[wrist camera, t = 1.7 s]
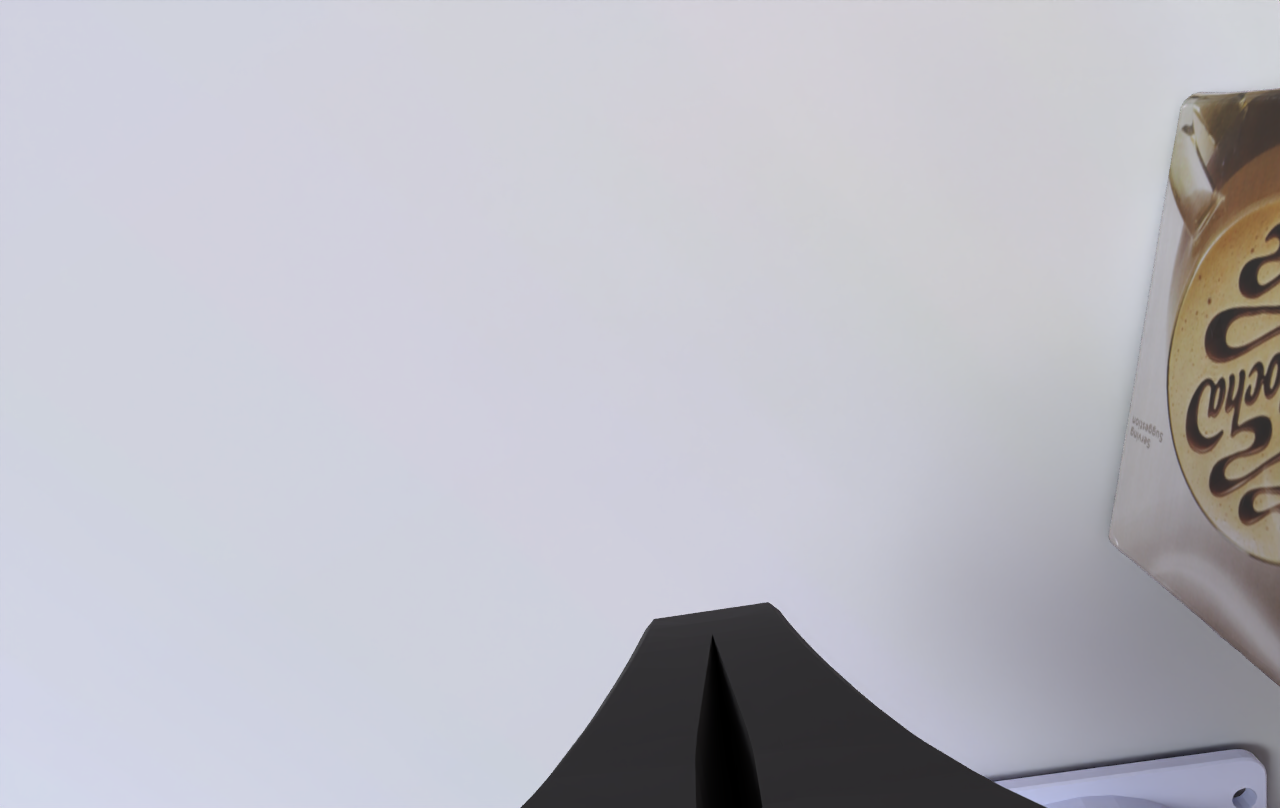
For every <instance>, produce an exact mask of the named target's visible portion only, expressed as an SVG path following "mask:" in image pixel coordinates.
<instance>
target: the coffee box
mask: <svg viewBox="0 0 1280 808" xmlns="http://www.w3.org/2000/svg"><path fill="white" fill-rule="evenodd" d="M1109 539H1110V542H1111V543H1112V544H1113V545H1114V546H1115V547H1116V548H1117V549H1118V550H1119V551H1120V552H1122V553H1123V554H1124V555H1126V556H1127V557H1128V558H1130V559H1131V560H1132V561H1134V562H1135V563H1136V564H1137V565H1138V566H1139V567H1140V568H1141V569H1143V570H1144V571H1145V572H1146V573H1147V574H1148V575H1150V576H1151V577H1152V578H1153V579H1154V580H1156V581H1157V582H1158V583H1159V584H1160V585H1161V586H1163V587H1164V588H1165V589H1166V590H1168V591H1169V592H1170V593H1171V594H1172V595H1173V596H1174V597H1176V598H1177V599H1178V600H1179V601H1181V602H1182V603H1183V604H1184V605H1185V606H1186V607H1187V608H1189V609H1190V610H1191V611H1192V612H1193V613H1195V614H1196V615H1197V616H1198V617H1200V618H1201V619H1202V620H1203V621H1204V622H1205V623H1206V624H1207V625H1208V626H1209V627H1211V628H1212V629H1213V630H1214V631H1215V632H1216V633H1217V634H1218V635H1219V636H1220V637H1221V638H1223V639H1224V640H1226V641H1227V642H1228V643H1229V644H1230V645H1231V646H1233V647H1234V648H1235V649H1237V650H1238V651H1239V652H1240V653H1242V654H1243V655H1244V656H1245V657H1246V658H1247V659H1248V660H1249V661H1250V662H1251V663H1253V664H1254V665H1255V666H1256V667H1257V668H1259V669H1260V670H1261V671H1262V672H1263V673H1264V674H1266V675H1267V676H1268V677H1269V678H1270V679H1272V680H1273V681H1274V682H1275V683H1276V684H1278V685H1279V686H1280V88H1277V89H1267V90H1254V91H1242V92H1230V93H1214V92H1198V93H1195V94H1192V95H1191V96H1190V97H1189V98H1187V99H1186V100H1185V101H1184V103H1183V104H1182V106H1181V109H1180V114H1179V120H1178V126H1177V132H1176V137H1175V143H1174V148H1173V154H1172V159H1171V165H1170V171H1169V177H1168V183H1167V189H1166V195H1165V200H1164V206H1163V212H1162V218H1161V224H1160V230H1159V236H1158V242H1157V248H1156V254H1155V261H1154V267H1153V273H1152V279H1151V285H1150V291H1149V297H1148V303H1147V309H1146V315H1145V321H1144V327H1143V333H1142V339H1141V346H1140V352H1139V358H1138V364H1137V370H1136V376H1135V382H1134V388H1133V394H1132V400H1131V406H1130V412H1129V418H1128V423H1127V429H1126V435H1125V441H1124V447H1123V453H1122V459H1121V465H1120V471H1119V478H1118V484H1117V489H1116V495H1115V501H1114V507H1113V513H1112V519H1111V524H1110V530H1109Z"/></svg>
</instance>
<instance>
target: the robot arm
mask: <svg viewBox="0 0 1280 808" xmlns="http://www.w3.org/2000/svg"><path fill="white" fill-rule="evenodd" d="M1243 788H1246V790H1245V792H1244V793H1243V794H1242V795H1241V796H1238V797H1235V798H1233V795H1234V794H1235V793H1236V792H1237V791H1238V790H1240V789H1243ZM521 808H1267V773H1266V770H1265V766H1264V765H1263V764H1262V763H1261V762H1260V761H1259V760H1258V759H1257V758H1256V757H1255V756H1254V755H1253V754H1252V753H1251V752H1249V751H1246V750H1244V749H1232V750H1225V751H1217V752H1210V753H1202V754H1195V755H1188V756H1180V757H1173V758H1165V759H1158V760H1151V761H1143V762H1136V763H1128V764H1121V765H1114V766H1106V767H1099V768H1091V769H1084V770H1077V771H1069V772H1062V773H1054V774H1047V775H1040V776H1032V777H1025V778H1017V779H1010V780H1003V781H995V782H993V781H991V780H989V779H987V778H985V777H984V776H982V775H980V774H978V773H976V772H974V771H972V770H971V769H969V768H967V767H966V766H964V765H962V764H961V763H959V762H957V761H956V760H954V759H952V758H951V757H949V756H947V755H946V754H944V753H942V752H941V751H939V750H937V749H936V748H934V747H932V746H931V745H929V744H927V743H926V742H924V741H923V740H921V739H920V738H918V737H917V736H915V735H914V734H912V733H911V732H909V731H908V730H907V729H905V728H904V727H903V726H901V725H900V724H899V723H898V722H896V721H895V720H894V719H892V718H891V717H890V716H888V715H887V714H886V713H884V712H883V711H882V710H880V709H879V708H878V707H877V706H875V705H874V704H873V703H872V702H871V701H869V700H868V699H867V698H866V697H865V696H863V695H862V694H861V693H860V692H859V691H857V690H856V689H855V688H854V687H853V686H852V685H851V684H850V683H849V682H847V681H846V680H845V679H844V678H843V677H842V676H841V675H840V674H839V673H837V672H836V671H835V670H834V669H833V668H832V667H831V666H830V665H829V664H828V663H827V662H826V661H824V660H823V659H822V658H821V657H820V656H819V655H818V654H817V653H816V652H815V651H814V650H813V649H812V647H811V646H810V645H809V644H808V643H807V642H806V641H805V640H804V639H803V638H802V637H801V636H800V635H799V634H798V633H797V632H796V630H795V629H794V628H793V627H792V626H791V625H790V623H789V622H788V621H787V620H786V618H785V617H784V616H783V615H782V613H781V612H780V611H779V610H778V609H777V608H775V607H774V606H773V605H771V604H770V603H769V602H767V603H760V604H754V605H747V606H740V607H733V608H726V609H720V610H713V611H706V612H699V613H693V614H686V615H679V616H672V617H665V618H659V619H654V620H653V621H652V622H651V624H650V625H649V626H648V628H647V629H646V630H645V632H644V634H643V636H642V638H641V639H640V641H639V643H638V645H637V647H636V649H635V651H634V652H633V654H632V656H631V658H630V660H629V661H628V663H627V665H626V666H625V668H624V670H623V672H622V673H621V675H620V677H619V678H618V680H617V682H616V683H615V685H614V686H613V688H612V689H611V691H610V693H609V694H608V696H607V697H606V699H605V700H604V702H603V703H602V705H601V706H600V708H599V709H598V711H597V713H596V714H595V716H594V717H593V719H592V720H591V722H590V723H589V724H588V726H587V727H586V729H585V730H584V731H583V733H582V734H581V735H580V737H579V738H578V739H577V741H576V742H575V743H574V745H573V746H572V747H571V749H570V750H569V751H568V752H567V754H566V755H565V756H564V758H563V759H562V760H561V762H560V763H559V764H558V766H557V767H556V768H555V770H554V771H553V772H552V773H551V775H550V776H549V777H548V778H547V780H546V781H545V782H544V783H543V784H542V785H541V787H540V788H539V789H538V790H537V791H536V792H535V793H534V794H533V796H532V797H531V798H530V799H529V800H528V801H527V802H526V803H525V804H524V805H523V806H522V807H521Z"/></svg>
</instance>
